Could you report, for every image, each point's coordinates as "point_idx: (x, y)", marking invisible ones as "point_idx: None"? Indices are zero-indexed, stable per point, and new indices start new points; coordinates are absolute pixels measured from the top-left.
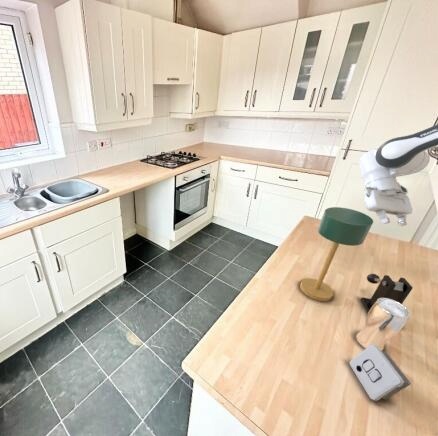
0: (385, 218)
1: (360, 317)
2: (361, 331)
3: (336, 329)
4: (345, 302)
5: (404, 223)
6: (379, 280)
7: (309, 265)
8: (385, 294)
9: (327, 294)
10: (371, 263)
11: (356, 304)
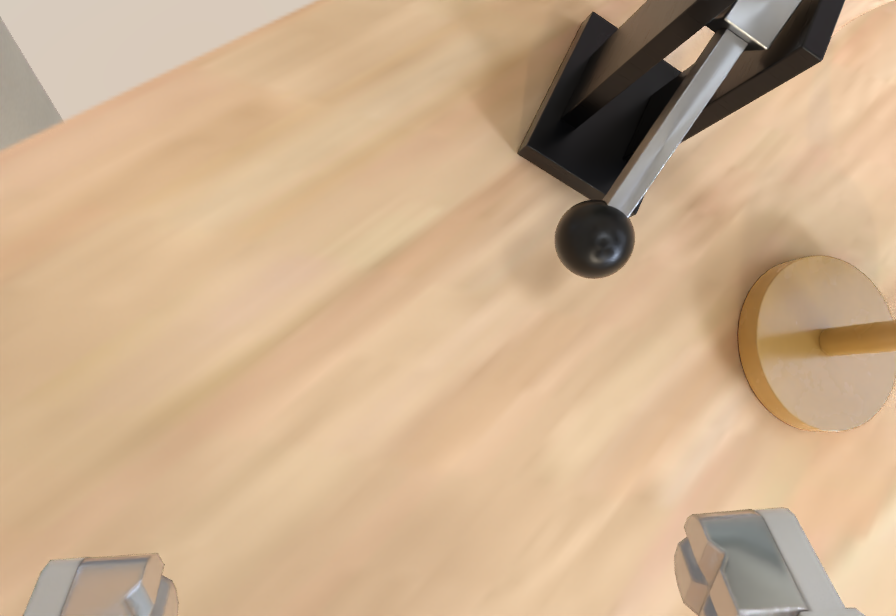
0: (825, 596)
1: (718, 124)
2: (846, 24)
3: (865, 105)
4: (715, 226)
5: (142, 566)
6: (665, 158)
7: None
8: None
9: (809, 279)
10: (163, 553)
11: (669, 198)
